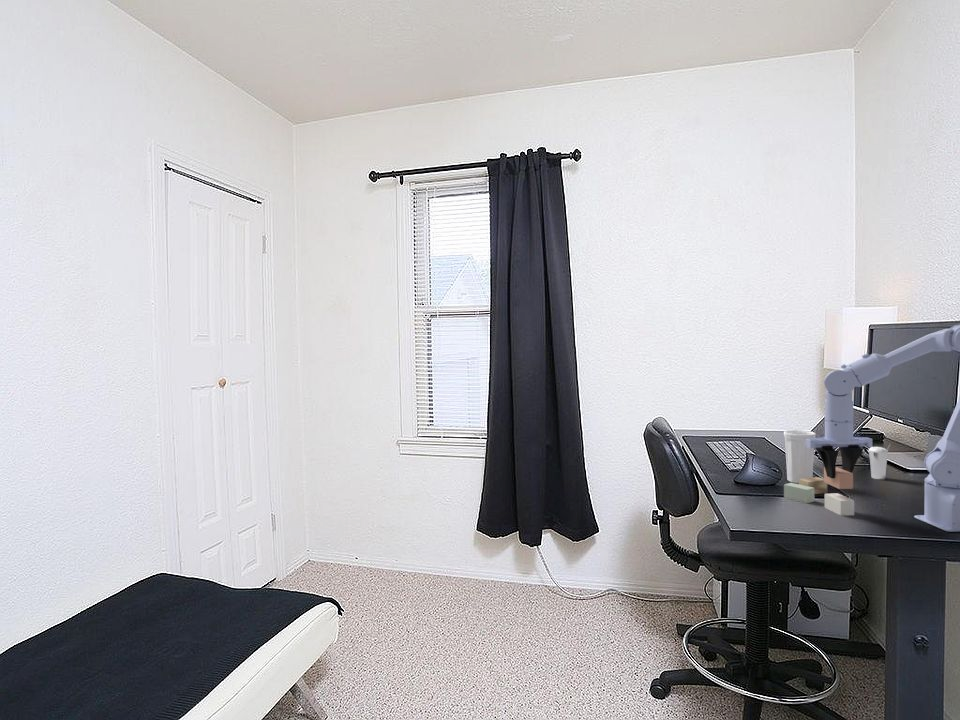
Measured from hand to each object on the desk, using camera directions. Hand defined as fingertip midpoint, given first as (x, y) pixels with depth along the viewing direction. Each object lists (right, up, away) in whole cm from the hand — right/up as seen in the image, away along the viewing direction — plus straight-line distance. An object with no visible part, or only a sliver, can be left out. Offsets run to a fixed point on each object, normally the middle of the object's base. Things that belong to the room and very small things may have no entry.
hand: (838, 477), depth 133 cm
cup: (+6, -7, +26) cm, 28 cm away
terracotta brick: (0, -2, 0) cm, 2 cm away
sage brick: (-4, -8, +10) cm, 14 cm away
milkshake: (+30, -6, +28) cm, 41 cm away
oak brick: (+4, -8, +16) cm, 18 cm away
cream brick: (0, -8, 0) cm, 8 cm away
